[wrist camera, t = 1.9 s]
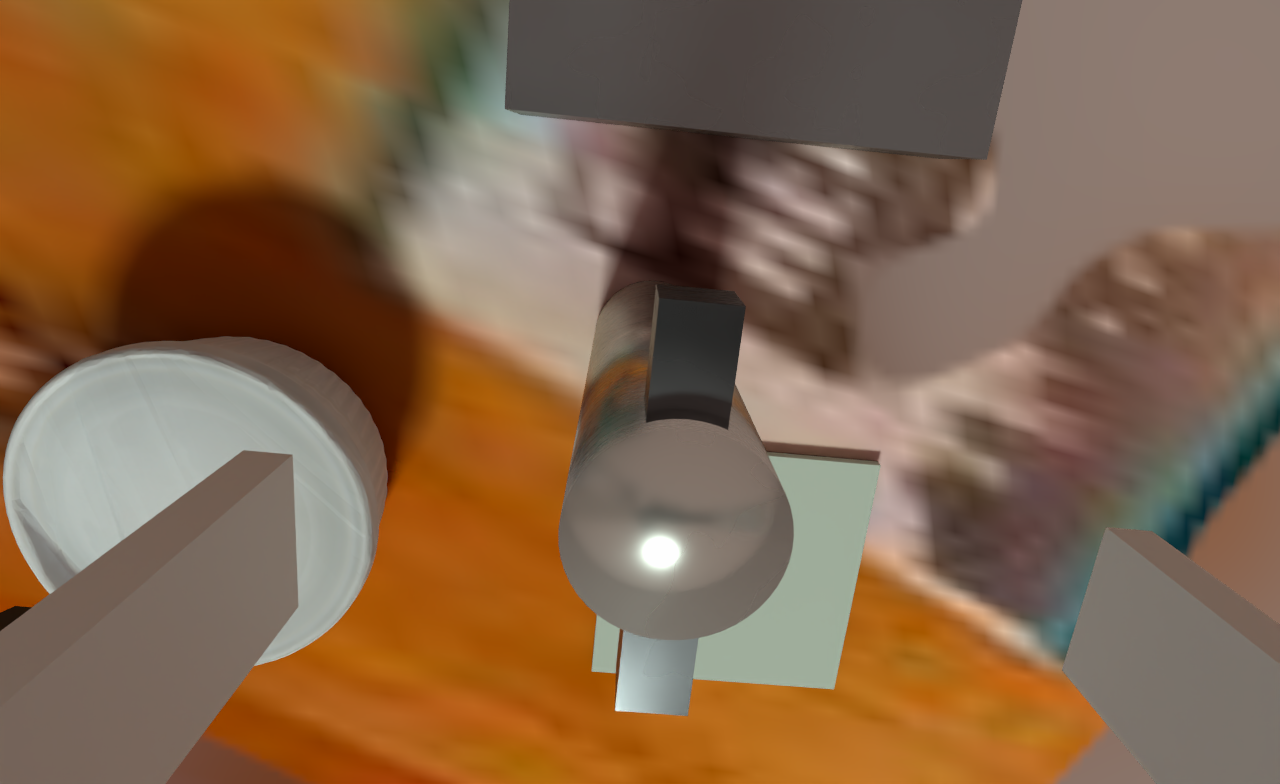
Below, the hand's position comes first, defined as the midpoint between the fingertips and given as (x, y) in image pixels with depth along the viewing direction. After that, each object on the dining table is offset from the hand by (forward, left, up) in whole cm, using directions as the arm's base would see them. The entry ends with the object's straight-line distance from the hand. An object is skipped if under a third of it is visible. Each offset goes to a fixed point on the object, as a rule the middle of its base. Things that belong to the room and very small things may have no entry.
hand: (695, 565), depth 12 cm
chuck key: (0, 0, -16) cm, 16 cm away
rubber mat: (+4, -9, -16) cm, 18 cm away
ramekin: (-14, -6, -16) cm, 22 cm away
